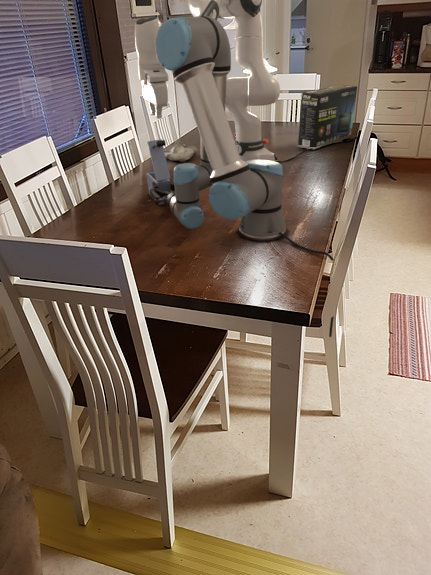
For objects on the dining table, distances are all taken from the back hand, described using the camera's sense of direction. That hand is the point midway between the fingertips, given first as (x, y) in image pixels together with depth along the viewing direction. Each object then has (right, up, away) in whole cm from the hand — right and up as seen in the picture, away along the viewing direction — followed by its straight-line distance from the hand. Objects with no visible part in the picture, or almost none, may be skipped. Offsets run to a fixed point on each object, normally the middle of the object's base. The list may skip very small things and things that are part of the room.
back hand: (156, 116), depth 160 cm
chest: (-1, -24, +21) cm, 32 cm away
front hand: (0, -20, +15) cm, 25 cm away
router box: (+79, +17, +85) cm, 117 cm away
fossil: (+2, +5, +70) cm, 70 cm away
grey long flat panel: (0, -13, +10) cm, 16 cm away
